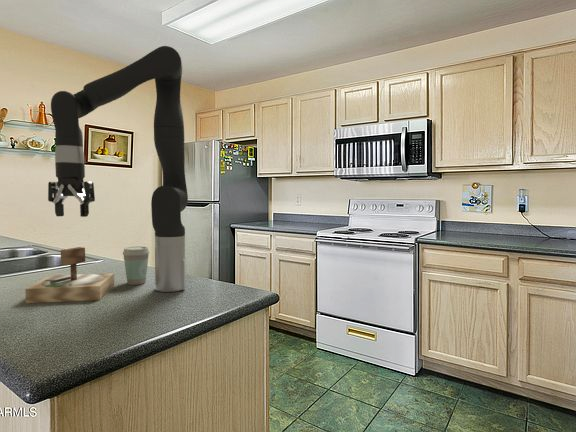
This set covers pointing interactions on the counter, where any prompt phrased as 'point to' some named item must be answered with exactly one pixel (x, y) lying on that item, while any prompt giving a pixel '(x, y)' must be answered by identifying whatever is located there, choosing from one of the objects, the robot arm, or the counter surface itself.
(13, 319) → the counter surface
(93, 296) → the dial board
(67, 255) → the key
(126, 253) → the coffee cup
